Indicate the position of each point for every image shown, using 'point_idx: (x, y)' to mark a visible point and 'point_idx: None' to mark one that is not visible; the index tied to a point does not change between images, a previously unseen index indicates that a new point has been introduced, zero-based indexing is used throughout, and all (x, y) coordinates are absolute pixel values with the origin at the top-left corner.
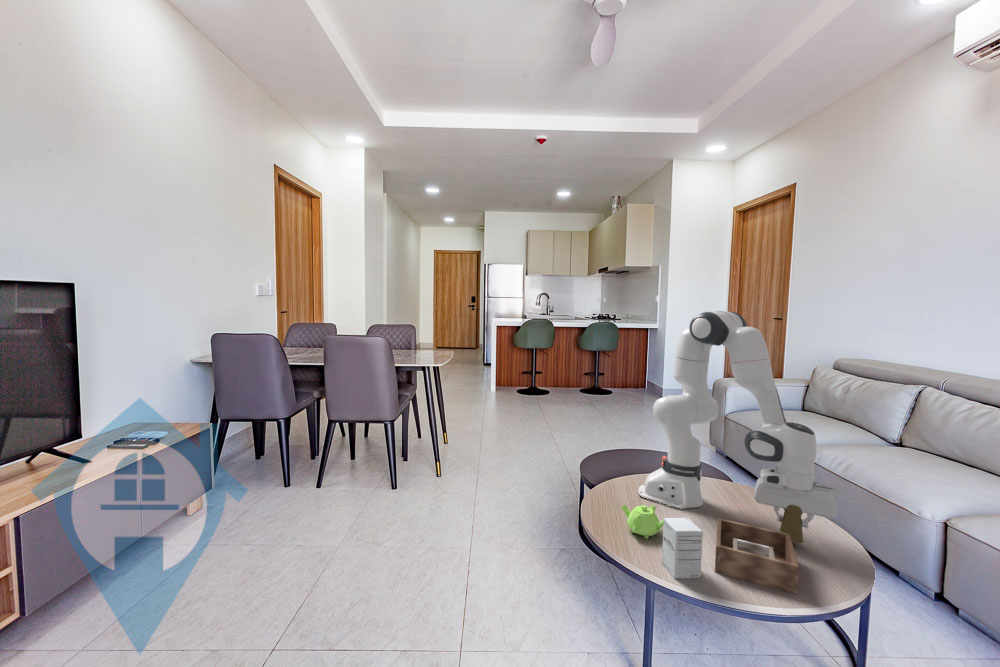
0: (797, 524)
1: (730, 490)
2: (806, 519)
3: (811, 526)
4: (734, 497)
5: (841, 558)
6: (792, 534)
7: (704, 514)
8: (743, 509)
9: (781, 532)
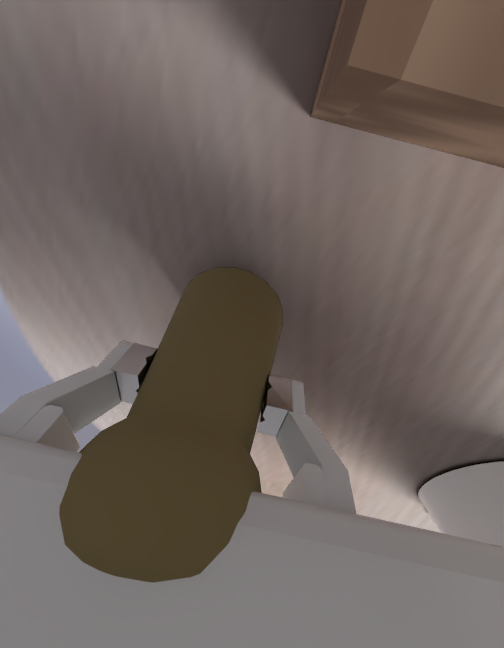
0: (181, 344)
1: None
2: (101, 394)
3: None
4: None
5: (49, 234)
6: (231, 295)
7: (483, 434)
8: None
9: (456, 78)
